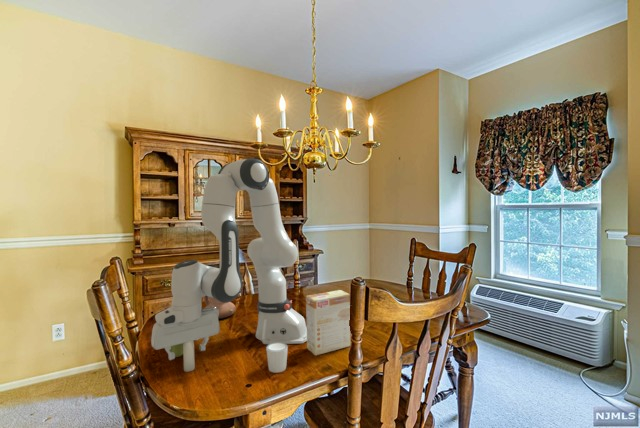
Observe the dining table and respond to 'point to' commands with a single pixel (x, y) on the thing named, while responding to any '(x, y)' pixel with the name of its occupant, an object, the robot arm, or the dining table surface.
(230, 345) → the dining table surface
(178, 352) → the plant pot
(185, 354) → the dowel
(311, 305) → the coffeecake box
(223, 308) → the ceramic jug
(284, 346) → the shot glass
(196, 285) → the robot arm
